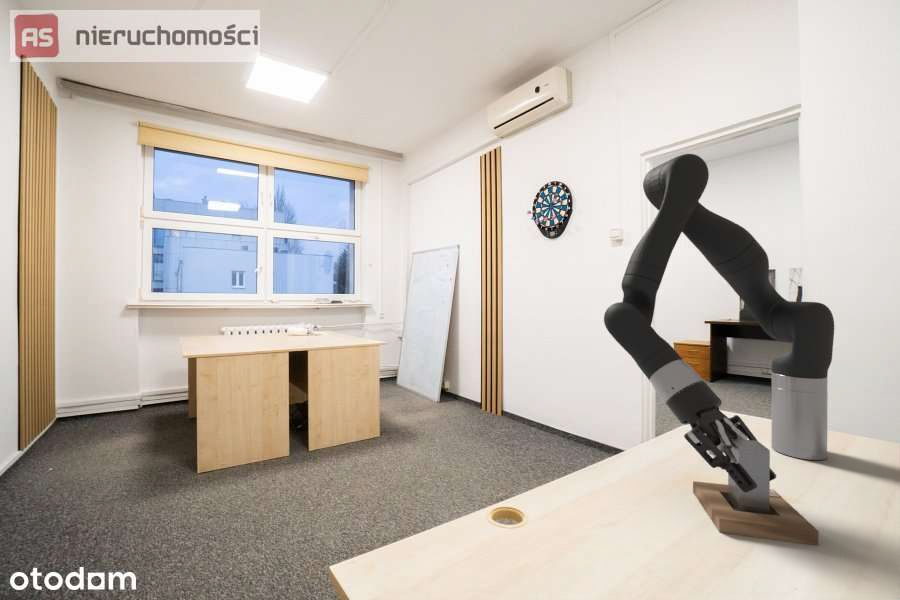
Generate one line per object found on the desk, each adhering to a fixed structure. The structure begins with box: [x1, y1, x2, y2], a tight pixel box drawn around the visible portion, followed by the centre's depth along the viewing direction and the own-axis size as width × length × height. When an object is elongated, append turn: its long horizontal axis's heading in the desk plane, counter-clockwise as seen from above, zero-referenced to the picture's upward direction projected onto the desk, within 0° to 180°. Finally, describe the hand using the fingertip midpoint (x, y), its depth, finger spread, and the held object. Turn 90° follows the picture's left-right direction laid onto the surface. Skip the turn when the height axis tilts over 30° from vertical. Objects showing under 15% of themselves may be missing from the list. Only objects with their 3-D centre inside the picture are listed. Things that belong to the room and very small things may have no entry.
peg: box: [727, 439, 771, 515], centre depth 62 cm, size 4×4×10 cm
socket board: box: [692, 480, 819, 546], centre depth 62 cm, size 12×12×2 cm
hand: (761, 484), depth 61 cm, fingers closed on peg, 5 cm apart
